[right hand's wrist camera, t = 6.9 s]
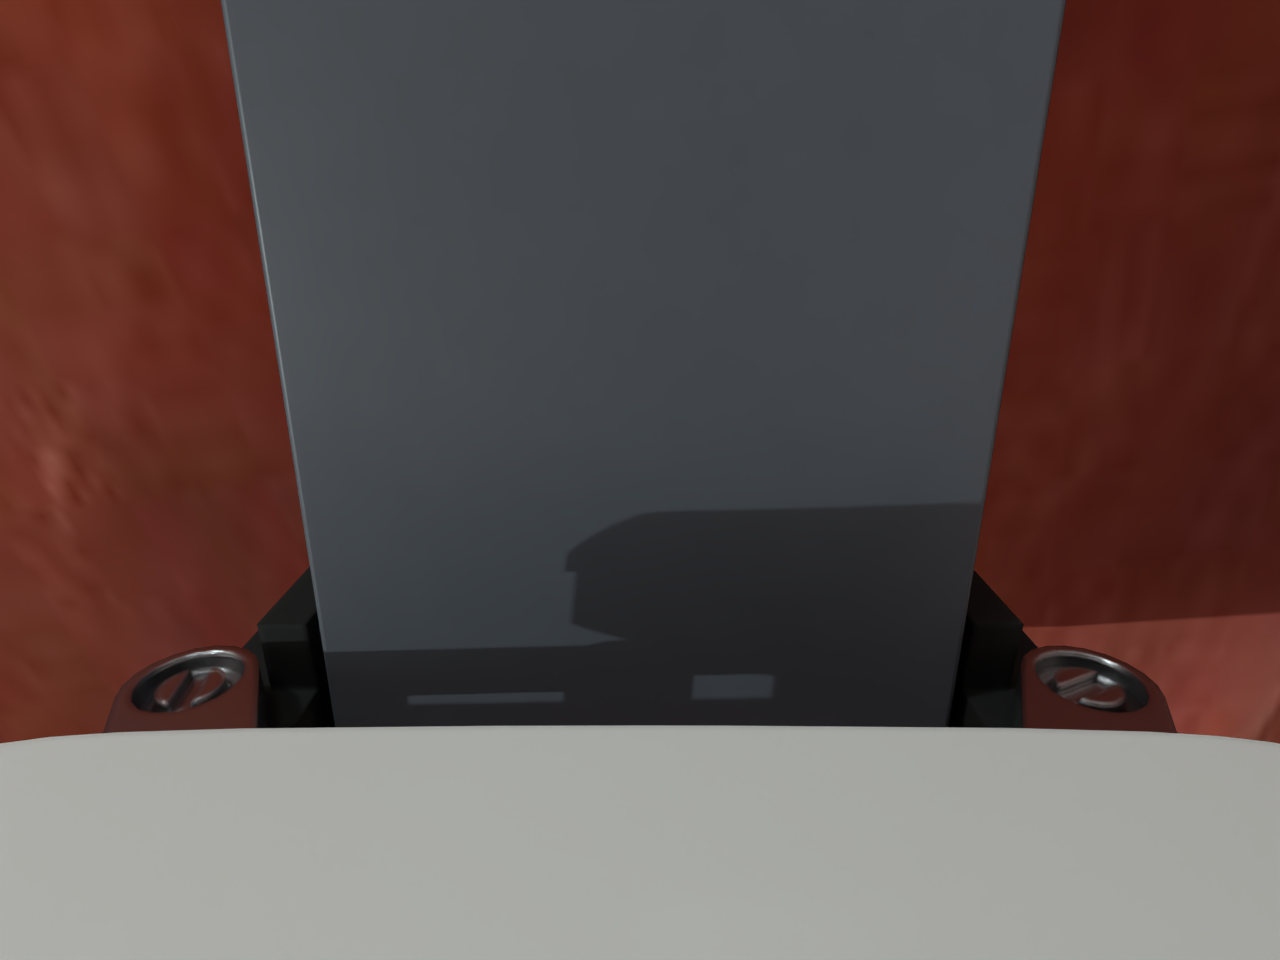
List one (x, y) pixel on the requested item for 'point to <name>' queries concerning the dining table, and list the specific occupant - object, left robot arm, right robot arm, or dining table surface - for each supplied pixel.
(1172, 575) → the dining table surface
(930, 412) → the bar
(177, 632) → the dining table surface
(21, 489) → the dining table surface
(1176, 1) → the dining table surface
